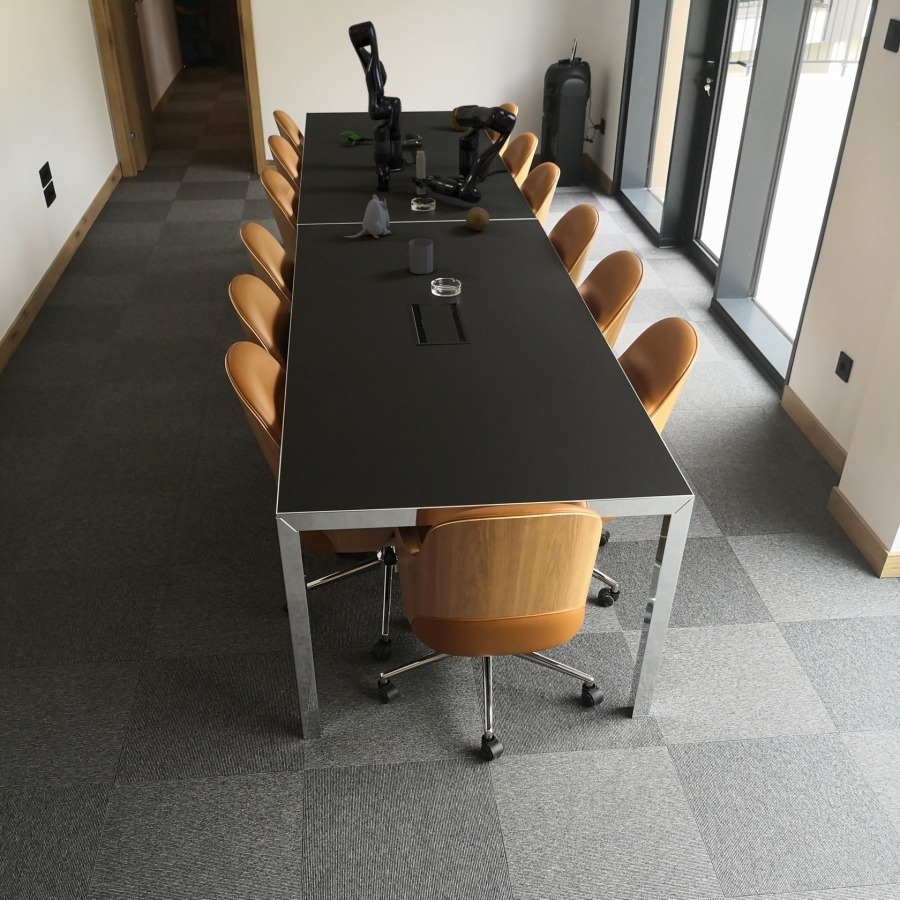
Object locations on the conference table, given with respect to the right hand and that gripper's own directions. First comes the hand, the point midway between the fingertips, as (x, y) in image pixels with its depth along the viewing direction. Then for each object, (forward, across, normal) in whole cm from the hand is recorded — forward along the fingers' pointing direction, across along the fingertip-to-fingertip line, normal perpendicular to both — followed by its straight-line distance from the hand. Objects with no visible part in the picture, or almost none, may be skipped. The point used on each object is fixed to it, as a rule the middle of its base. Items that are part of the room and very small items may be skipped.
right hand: (416, 178), depth 386 cm
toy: (-33, +56, +6) cm, 65 cm away
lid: (+14, +8, +5) cm, 17 cm away
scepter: (+84, -39, +6) cm, 93 cm away
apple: (+72, -99, +7) cm, 123 cm away
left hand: (+13, +8, +5) cm, 17 cm away
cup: (-73, +63, +6) cm, 97 cm away
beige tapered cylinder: (-3, 0, +6) cm, 7 cm away
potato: (-55, +17, +6) cm, 58 cm away
